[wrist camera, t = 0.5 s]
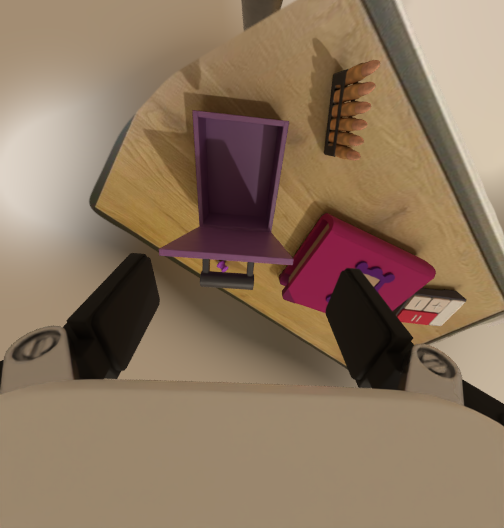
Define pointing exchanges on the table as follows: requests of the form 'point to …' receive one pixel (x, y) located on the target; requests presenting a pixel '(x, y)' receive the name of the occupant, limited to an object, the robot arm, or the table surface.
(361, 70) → the ammunition clip
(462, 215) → the table surface
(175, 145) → the table surface
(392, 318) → the robot arm
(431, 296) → the calculator
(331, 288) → the book
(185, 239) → the lid
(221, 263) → the pushpin
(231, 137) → the box
